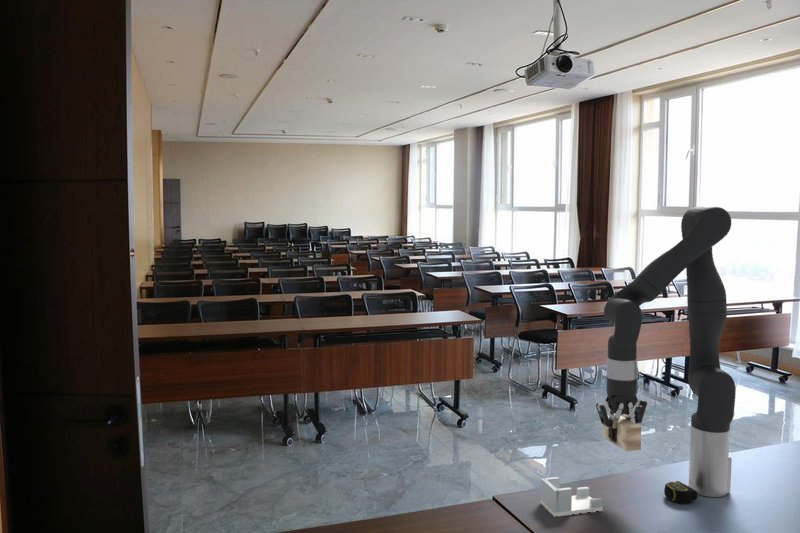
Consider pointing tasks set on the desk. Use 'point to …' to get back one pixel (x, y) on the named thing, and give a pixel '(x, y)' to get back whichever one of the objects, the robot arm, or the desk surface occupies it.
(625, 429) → the beech rail
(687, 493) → the tape measure
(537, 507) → the desk surface
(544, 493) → the bracket board
